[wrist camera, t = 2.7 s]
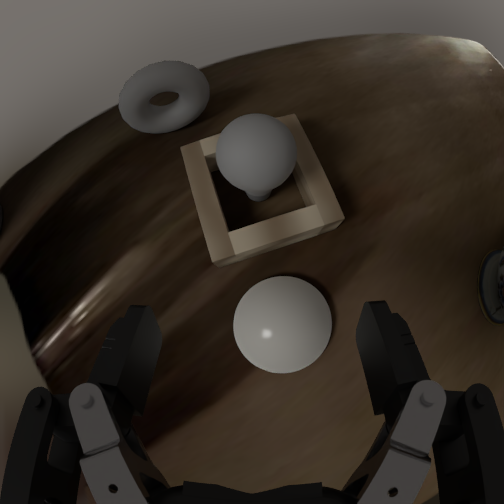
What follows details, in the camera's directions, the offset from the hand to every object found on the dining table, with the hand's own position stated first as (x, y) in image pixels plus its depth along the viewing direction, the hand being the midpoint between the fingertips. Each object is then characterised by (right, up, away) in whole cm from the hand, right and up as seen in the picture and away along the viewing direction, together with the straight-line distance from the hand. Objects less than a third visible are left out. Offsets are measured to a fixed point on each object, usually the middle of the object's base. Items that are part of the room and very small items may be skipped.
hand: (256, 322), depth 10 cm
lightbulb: (+1, +8, +18) cm, 20 cm away
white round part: (+3, -4, +15) cm, 16 cm away
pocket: (+1, +9, +18) cm, 20 cm away
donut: (-9, +18, +20) cm, 29 cm away
